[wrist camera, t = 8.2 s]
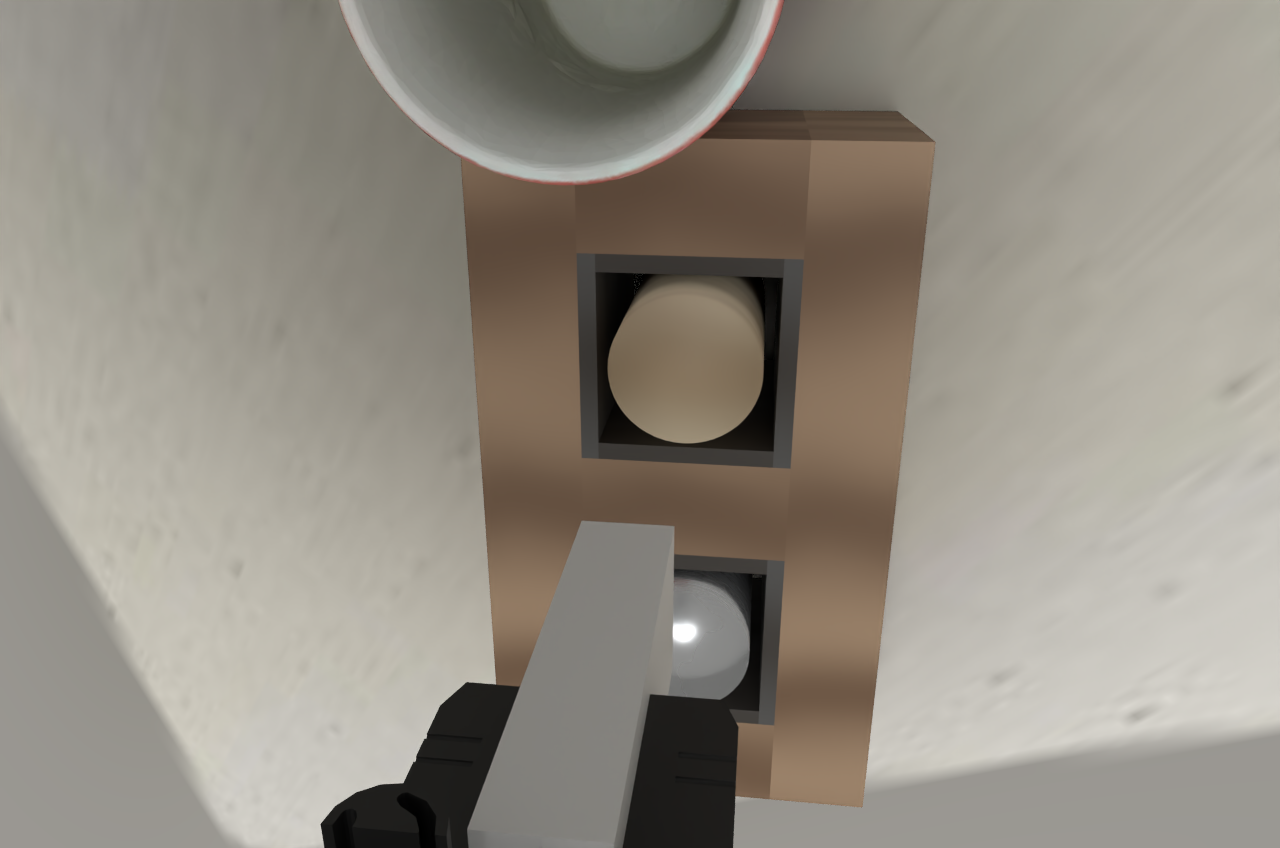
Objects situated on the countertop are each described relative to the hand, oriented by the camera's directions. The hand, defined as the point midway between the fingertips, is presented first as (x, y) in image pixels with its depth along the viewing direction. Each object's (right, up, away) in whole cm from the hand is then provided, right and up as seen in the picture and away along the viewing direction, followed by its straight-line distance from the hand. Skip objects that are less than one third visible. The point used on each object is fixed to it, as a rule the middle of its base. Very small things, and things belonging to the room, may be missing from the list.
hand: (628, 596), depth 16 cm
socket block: (+3, +3, +20) cm, 21 cm away
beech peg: (+2, +7, +18) cm, 19 cm away
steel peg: (+2, -1, +21) cm, 21 cm away
